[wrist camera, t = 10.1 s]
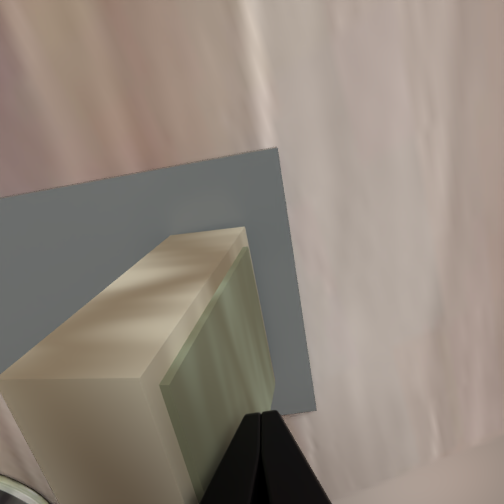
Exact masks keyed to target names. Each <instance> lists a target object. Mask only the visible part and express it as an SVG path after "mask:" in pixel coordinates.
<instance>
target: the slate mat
mask: <svg viewBox="0 0 504 504" xmlns="http://www.w3.org/2000/svg"><path fill="white" fill-rule="evenodd" d="M236 227H245V229H246V234H247V239H248V244H249V250H250V255H251V260H252V265H253V270H254V275H255V280H256V285H257V290H258V296H259V301H260V306H261V311H262V316H263V321H264V326H265V331H266V336H267V341H268V347H269V352H270V357H271V362H272V367H273V372H274V377H275V389H274V394H273V399H272V404H271V410H277V411H278V412H279V413H280V415H287V414H295V413H302V412H310V411H317V410H316V403H315V396H314V390H313V383H312V376H311V369H310V363H309V356H308V349H307V342H306V336H305V329H304V322H303V316H302V309H301V302H300V295H299V289H298V282H297V275H296V269H295V262H294V255H293V248H292V242H291V235H290V228H289V222H288V215H287V208H286V201H285V195H284V188H283V181H282V175H281V168H280V161H279V154H278V148H277V147H272V148H266V149H261V150H256V151H250V152H245V153H239V154H234V155H229V156H223V157H218V158H212V159H207V160H202V161H196V162H191V163H185V164H180V165H175V166H169V167H164V168H158V169H153V170H147V171H142V172H137V173H131V174H126V175H120V176H115V177H110V178H104V179H99V180H93V181H88V182H83V183H77V184H72V185H66V186H61V187H56V188H50V189H45V190H39V191H34V192H29V193H23V194H18V195H12V196H7V197H2V198H0V374H1V373H3V372H4V371H5V370H6V369H7V368H9V367H10V366H11V365H12V364H14V363H15V362H16V361H17V360H18V359H20V358H21V357H22V356H23V355H25V354H26V353H27V352H28V351H29V350H31V349H32V348H33V347H34V346H36V345H37V344H38V343H39V342H40V341H42V340H43V339H44V338H45V337H47V336H48V335H49V334H50V333H51V332H53V331H54V330H55V329H56V328H58V327H59V326H60V325H61V324H62V323H64V322H65V321H66V320H67V319H69V318H70V317H71V316H72V315H73V314H75V313H76V312H77V311H78V310H80V309H81V308H82V307H83V306H85V305H86V304H87V303H88V302H89V301H91V300H92V299H93V298H94V297H96V296H97V295H98V294H99V293H100V292H102V291H103V290H104V289H105V288H107V287H108V286H109V285H110V284H111V283H113V282H114V281H115V280H116V279H118V278H119V277H120V276H121V275H122V274H124V273H125V272H126V271H127V270H129V269H130V268H131V267H132V266H133V265H135V264H136V263H137V262H138V261H140V260H141V259H142V258H143V257H144V256H146V255H147V254H148V253H149V252H151V251H152V250H153V249H154V248H155V247H157V246H158V245H159V244H160V243H162V242H163V241H164V240H165V239H166V238H168V237H169V236H170V235H178V234H186V233H194V232H203V231H211V230H220V229H228V228H236Z"/></svg>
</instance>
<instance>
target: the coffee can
mask: <svg viewBox="0 0 504 504" xmlns="http://www.w3.org/2000/svg"><path fill="white" fill-rule="evenodd" d="M0 504H50V503H49V502H48V501H47V500H46V499H45V498H43V497H42V496H41V495H40V494H38V493H37V492H35V491H34V490H32V489H30V488H29V487H27V486H25V485H23V484H21V483H19V482H17V481H15V480H13V479H10V478H8V477H5V476H2V475H0Z"/></svg>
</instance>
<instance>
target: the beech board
mask: <svg viewBox="0 0 504 504" xmlns="http://www.w3.org/2000/svg"><path fill="white" fill-rule="evenodd" d="M274 389H275V377H274V372H273V367H272V362H271V357H270V352H269V347H268V341H267V336H266V331H265V326H264V321H263V316H262V311H261V306H260V301H259V296H258V290H257V285H256V280H255V275H254V270H253V265H252V260H251V255H250V250H249V244H248V239H247V234H246V229H245V227H236V228H228V229H220V230H211V231H203V232H194V233H186V234H178V235H170V236H169V237H168V238H166V239H165V240H164V241H163V242H162V243H160V244H159V245H158V246H157V247H155V248H154V249H153V250H152V251H151V252H149V253H148V254H147V255H146V256H144V257H143V258H142V259H141V260H140V261H138V262H137V263H136V264H135V265H133V266H132V267H131V268H130V269H129V270H127V271H126V272H125V273H124V274H122V275H121V276H120V277H119V278H118V279H116V280H115V281H114V282H113V283H111V284H110V285H109V286H108V287H107V288H105V289H104V290H103V291H102V292H100V293H99V294H98V295H97V296H96V297H94V298H93V299H92V300H91V301H89V302H88V303H87V304H86V305H85V306H83V307H82V308H81V309H80V310H78V311H77V312H76V313H75V314H73V315H72V316H71V317H70V318H69V319H67V320H66V321H65V322H64V323H62V324H61V325H60V326H59V327H58V328H56V329H55V330H54V331H53V332H51V333H50V334H49V335H48V336H47V337H45V338H44V339H43V340H42V341H40V342H39V343H38V344H37V345H36V346H34V347H33V348H32V349H31V350H29V351H28V352H27V353H26V354H25V355H23V356H22V357H21V358H20V359H18V360H17V361H16V362H15V363H14V364H12V365H11V366H10V367H9V368H7V369H6V370H5V371H4V372H3V373H1V374H0V392H1V394H2V396H3V398H4V400H5V402H6V404H7V406H8V408H9V409H10V411H11V413H12V415H13V417H14V419H15V421H16V423H17V425H18V427H19V428H20V430H21V432H22V434H23V436H24V438H25V440H26V442H27V444H28V445H29V447H30V449H31V451H32V453H33V455H34V457H35V459H36V461H37V462H38V464H39V466H40V468H41V470H42V472H43V474H44V476H45V478H46V480H47V481H48V483H49V485H50V487H51V489H52V491H53V493H54V495H55V497H56V498H57V500H58V502H59V504H199V502H200V500H201V498H202V496H203V495H204V493H205V491H206V489H207V487H208V485H209V483H210V481H211V479H212V477H213V475H214V473H215V471H216V469H217V467H218V465H219V463H220V461H221V460H222V458H223V456H224V454H225V452H226V450H227V448H228V446H229V444H230V442H231V440H232V438H233V436H234V434H235V432H236V430H237V428H238V426H239V425H240V423H241V421H242V419H243V417H244V415H245V414H248V413H255V412H260V413H261V414H262V412H263V411H270V410H271V404H272V399H273V394H274Z"/></svg>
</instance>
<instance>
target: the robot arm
mask: <svg viewBox="0 0 504 504" xmlns="http://www.w3.org/2000/svg"><path fill="white" fill-rule="evenodd" d="M199 504H332V503H331V502H330V500H329V498H328V496H327V495H326V493H325V491H324V489H323V488H322V486H321V484H320V482H319V481H318V479H317V477H316V476H315V474H314V472H313V470H312V469H311V467H310V465H309V463H308V462H307V460H306V458H305V456H304V455H303V453H302V451H301V449H300V448H299V446H298V444H297V443H296V441H295V439H294V437H293V436H292V434H291V432H290V430H289V429H288V427H287V425H286V423H285V422H284V420H283V418H282V417H281V415H280V413H279V412H278V411H277V410H270V411H263V412H262V414H261V413H260V412H255V413H248V414H245V415H244V417H243V419H242V421H241V423H240V425H239V426H238V428H237V430H236V432H235V434H234V436H233V438H232V440H231V442H230V444H229V446H228V448H227V450H226V452H225V454H224V456H223V458H222V460H221V461H220V463H219V465H218V467H217V469H216V471H215V473H214V475H213V477H212V479H211V481H210V483H209V485H208V487H207V489H206V491H205V493H204V495H203V496H202V498H201V500H200V502H199Z"/></svg>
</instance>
